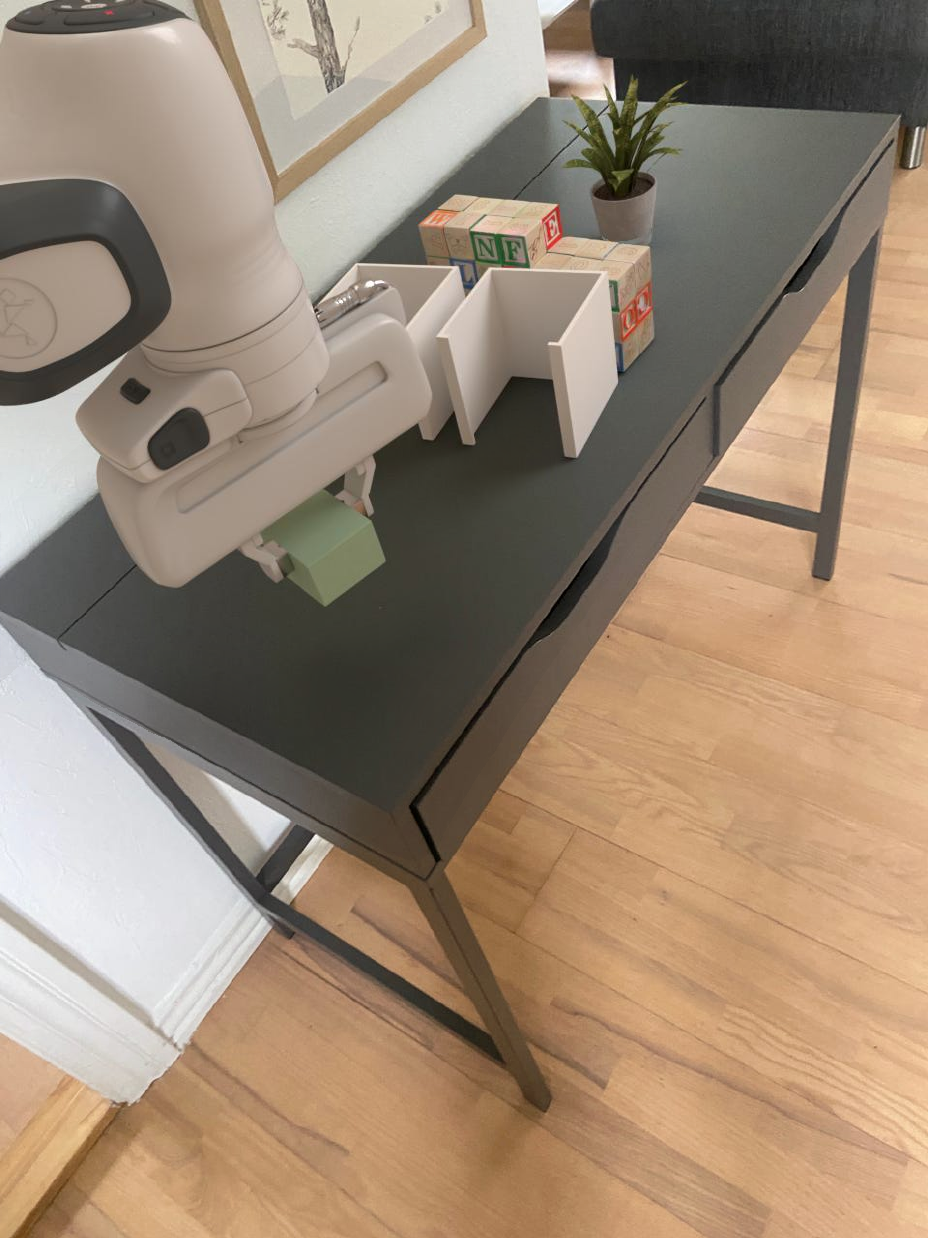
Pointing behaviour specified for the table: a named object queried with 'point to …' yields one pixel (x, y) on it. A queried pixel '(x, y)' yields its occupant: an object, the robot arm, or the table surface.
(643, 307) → the stack of blocks
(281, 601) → the table surface
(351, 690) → the table surface
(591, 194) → the house plant
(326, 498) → the sage block
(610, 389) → the open dividers
